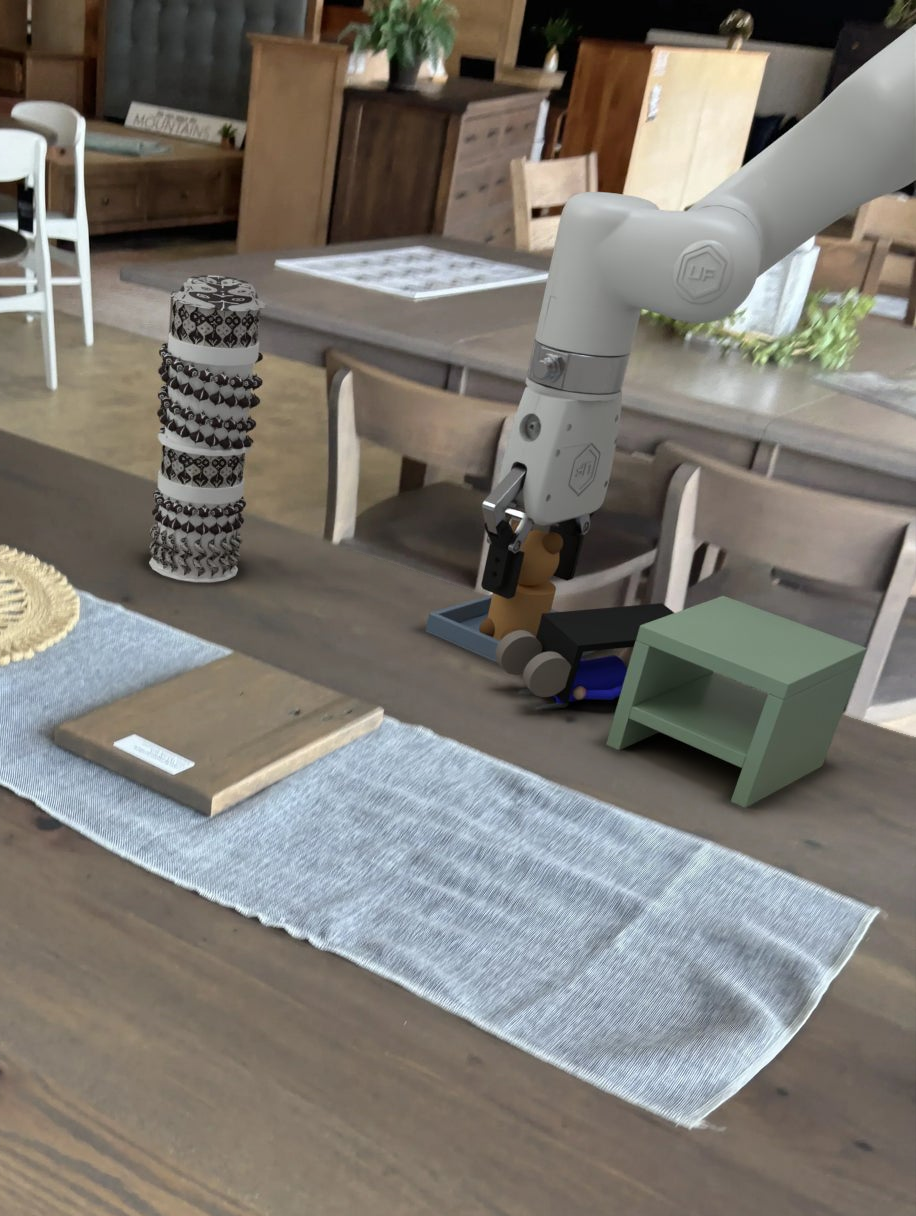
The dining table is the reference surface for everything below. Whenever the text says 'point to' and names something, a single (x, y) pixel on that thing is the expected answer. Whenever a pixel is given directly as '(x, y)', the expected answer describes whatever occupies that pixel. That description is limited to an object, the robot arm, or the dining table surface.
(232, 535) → the decorative candle
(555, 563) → the toy bear
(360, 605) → the dining table surface
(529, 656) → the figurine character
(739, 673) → the shelf
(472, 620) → the tray
